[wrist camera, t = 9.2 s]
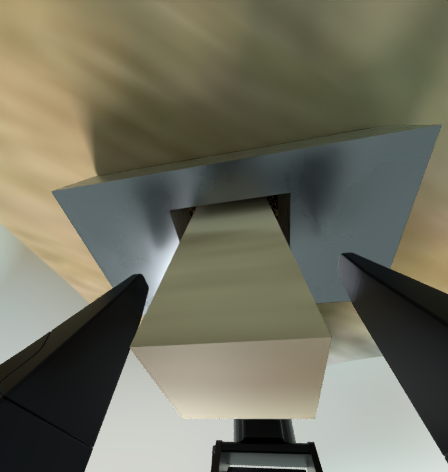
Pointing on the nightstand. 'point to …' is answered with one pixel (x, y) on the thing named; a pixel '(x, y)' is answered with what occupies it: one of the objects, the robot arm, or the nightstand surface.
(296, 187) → the grey slotted block
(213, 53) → the nightstand surface
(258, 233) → the ash peg
